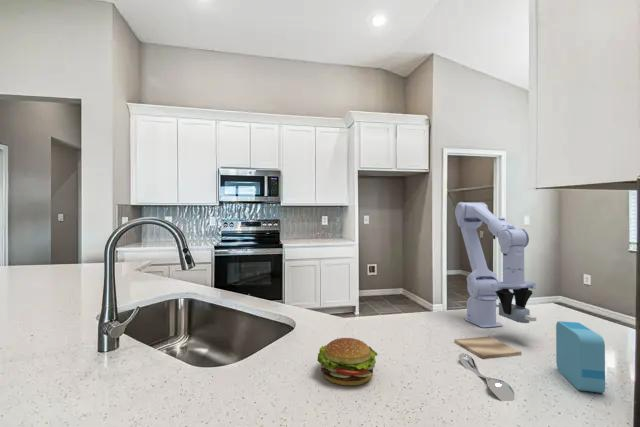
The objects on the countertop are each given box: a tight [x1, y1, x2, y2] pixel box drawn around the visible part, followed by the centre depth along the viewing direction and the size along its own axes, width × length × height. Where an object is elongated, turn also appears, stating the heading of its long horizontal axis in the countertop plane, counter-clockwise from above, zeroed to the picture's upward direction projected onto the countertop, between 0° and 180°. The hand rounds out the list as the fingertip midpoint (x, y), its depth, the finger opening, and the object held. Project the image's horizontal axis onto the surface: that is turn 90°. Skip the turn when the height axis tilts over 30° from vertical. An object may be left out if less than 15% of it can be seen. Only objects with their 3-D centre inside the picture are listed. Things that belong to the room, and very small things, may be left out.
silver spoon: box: [458, 352, 515, 402], centre depth 77 cm, size 20×4×5 cm
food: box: [316, 337, 378, 386], centre depth 79 cm, size 14×14×8 cm
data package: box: [555, 320, 606, 394], centre depth 75 cm, size 12×4×12 cm, turn 165°
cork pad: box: [453, 336, 522, 360], centre depth 94 cm, size 12×12×1 cm
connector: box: [498, 302, 537, 324], centre depth 100 cm, size 12×4×4 cm, turn 13°
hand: (513, 313), depth 101 cm, fingers closed on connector, 4 cm apart
